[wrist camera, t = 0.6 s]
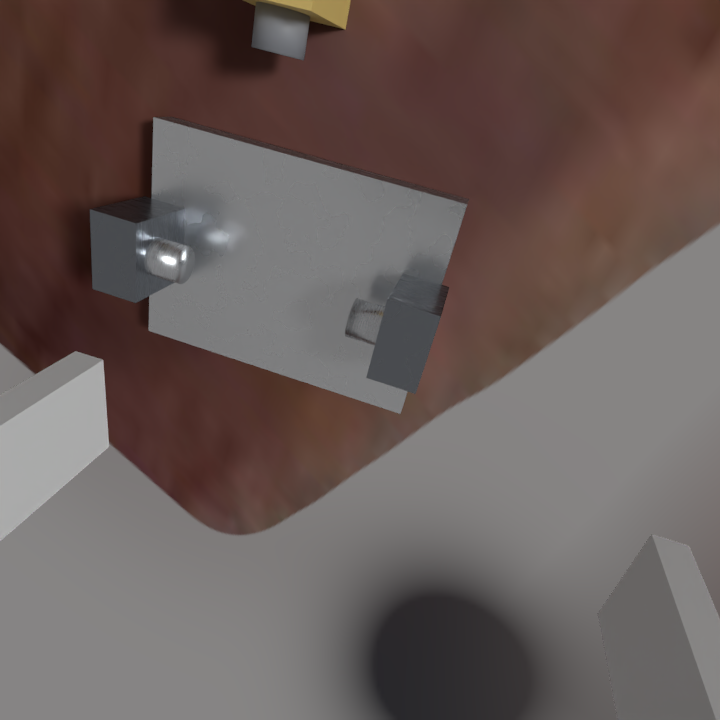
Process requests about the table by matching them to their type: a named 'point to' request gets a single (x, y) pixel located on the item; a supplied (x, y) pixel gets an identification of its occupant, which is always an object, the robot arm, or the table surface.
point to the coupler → (293, 23)
